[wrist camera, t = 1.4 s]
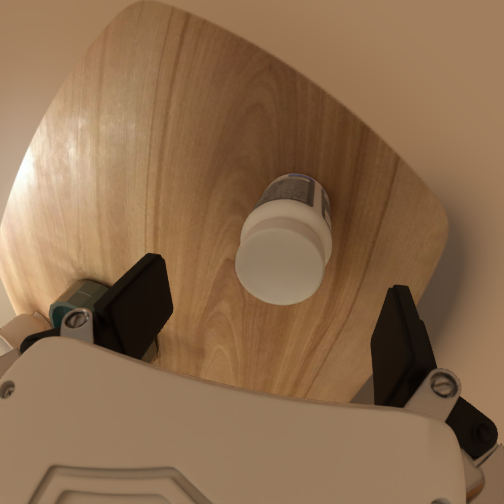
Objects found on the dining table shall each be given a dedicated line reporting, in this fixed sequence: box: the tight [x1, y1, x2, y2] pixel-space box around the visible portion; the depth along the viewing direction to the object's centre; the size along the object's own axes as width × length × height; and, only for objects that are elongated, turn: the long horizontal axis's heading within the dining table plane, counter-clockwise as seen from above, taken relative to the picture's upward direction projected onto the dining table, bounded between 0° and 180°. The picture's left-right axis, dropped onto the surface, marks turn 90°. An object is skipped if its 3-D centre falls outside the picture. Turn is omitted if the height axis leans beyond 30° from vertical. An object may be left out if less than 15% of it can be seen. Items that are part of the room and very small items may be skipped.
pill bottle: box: [235, 173, 332, 305], centre depth 16 cm, size 5×5×8 cm
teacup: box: [0, 312, 53, 354], centre depth 36 cm, size 12×15×10 cm
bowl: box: [49, 280, 157, 364], centre depth 30 cm, size 14×14×5 cm
